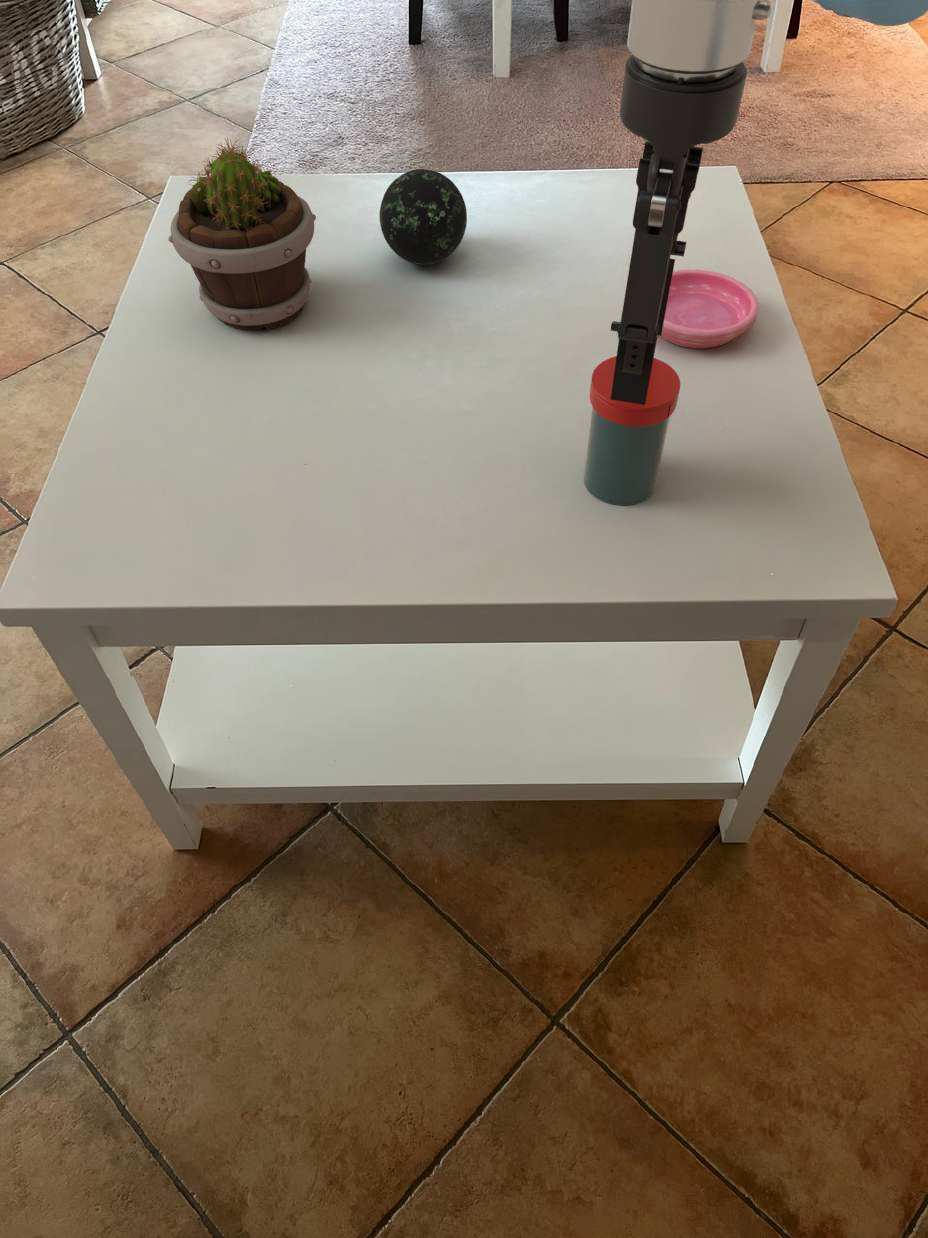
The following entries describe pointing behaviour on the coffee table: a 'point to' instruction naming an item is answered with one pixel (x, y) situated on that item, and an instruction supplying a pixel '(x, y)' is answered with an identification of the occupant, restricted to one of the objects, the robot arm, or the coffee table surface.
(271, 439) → the coffee table surface
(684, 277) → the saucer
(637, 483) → the lidded canister
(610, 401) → the jam lid
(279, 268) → the flowerpot
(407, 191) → the decorative stone
